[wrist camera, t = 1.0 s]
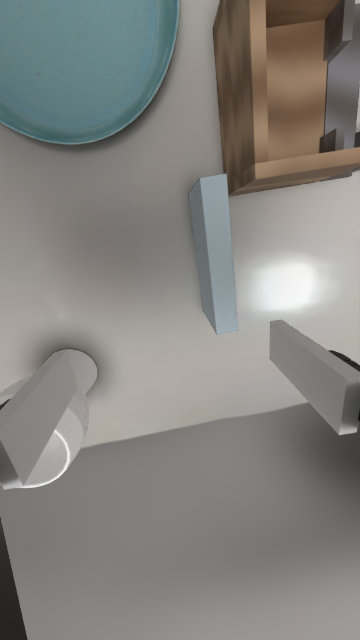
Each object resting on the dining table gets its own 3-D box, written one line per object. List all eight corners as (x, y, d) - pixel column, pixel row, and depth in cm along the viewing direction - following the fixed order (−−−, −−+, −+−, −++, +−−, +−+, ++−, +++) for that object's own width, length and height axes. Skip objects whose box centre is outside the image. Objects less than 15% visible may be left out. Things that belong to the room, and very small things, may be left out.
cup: (113, 350, 36) (85, 423, 22) (98, 404, 39) (65, 498, 25) (41, 332, 34) (-40, 399, 20) (32, 390, 37) (-44, 484, 23)
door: (188, 194, 30) (199, 177, 21) (207, 191, 30) (226, 173, 22) (203, 311, 36) (217, 334, 27) (219, 308, 36) (238, 331, 27)
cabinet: (212, 28, 25) (245, -98, 15) (371, 6, 25) (497, -129, 16) (225, 196, 30) (255, 179, 21) (355, 175, 31) (441, 149, 21)
